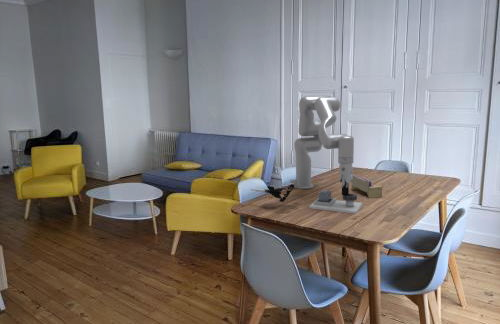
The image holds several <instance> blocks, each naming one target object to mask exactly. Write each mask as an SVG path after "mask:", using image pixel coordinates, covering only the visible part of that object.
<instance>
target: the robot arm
mask: <svg viewBox="0 0 500 324" xmlns="http://www.w3.org/2000/svg"><path fill="white" fill-rule="evenodd" d="M298 108H299V121H298V122H299V123H298V134H299V136H301V137H299V138H297V139H295V141H294V143H293V144H294V151H295V179H290V180H289V182H290V183H291V184H293V185H294V187H293V188H296V189H301V190H309V189H313V187H314V184H313V183H312V158H311V156H310V155H309V153H316V152H319V151H321V150H322V147H323V148H324V149H326V150H332V149H333V150H334V149H338V150H337V151H338V152H337V153H338V154H337V156H338V157H337V159H338V160H337V164H339V173H338V174H339V175H338V176H339V177H338V180H339V182H340V183H341V196H343V195H347V196H348V195H349V194H350V191H349V189H350V188H349V187H350V184H349V183H352V182H351V181H352V179H353V173H354V172H353V164H354V150H355V149H354V148H355V147H354V141H355V140H354V139H355V138H354V136H352V135H347V134H345V133H334V134H328V132H327V128H329V127H330V126H332V125H333V124H335V123H336V121H337V116H336V113H335V112H338V111H339V110H340V108H341V102H340V99H339V98H338V97H336V96H331V95H306V96H302V97H301V98H300V99H299V102H298ZM314 111H316V114H317V116H318V118H319V120H314V119H315V113H314Z"/></svg>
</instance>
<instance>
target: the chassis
mask: <svg viewBox="0 0 500 324" xmlns="http://www.w3.org/2000/svg"><path fill="white" fill-rule="evenodd" d="M362 206H363V202H359V201H358V202H356V201H346V200H339V199H337V198H335V197H331V202H330V203H328V202H319V197H317V198H315V200H314V201H313V203H311V204H310V205H309V206H308V207H309V209H313V210H322V211H329V212H339V213H346V214H347V213H348V214H357V213H358V212H359V211H360V209H361V208H362Z"/></svg>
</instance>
